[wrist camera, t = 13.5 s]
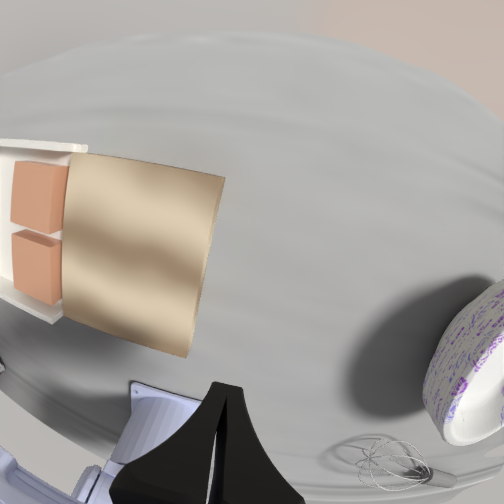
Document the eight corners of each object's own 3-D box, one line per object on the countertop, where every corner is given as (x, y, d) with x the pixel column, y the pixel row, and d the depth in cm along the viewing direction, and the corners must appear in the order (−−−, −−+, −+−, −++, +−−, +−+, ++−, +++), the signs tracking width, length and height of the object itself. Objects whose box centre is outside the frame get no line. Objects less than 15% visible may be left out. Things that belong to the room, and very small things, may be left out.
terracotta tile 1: (64, 296, 21) (51, 305, 19) (27, 280, 21) (14, 287, 19) (65, 241, 20) (50, 247, 18) (26, 228, 20) (11, 233, 18)
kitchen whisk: (439, 486, 31) (448, 509, 25) (338, 448, 26) (348, 491, 20) (465, 468, 29) (477, 490, 23) (382, 418, 25) (399, 461, 19)
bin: (75, 311, 22) (57, 326, 19) (-4, 275, 22) (-22, 284, 19) (88, 145, 18) (65, 143, 15) (1, 138, 18) (-20, 138, 15)
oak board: (191, 344, 22) (186, 358, 20) (75, 305, 22) (63, 315, 20) (225, 177, 19) (221, 177, 17) (86, 152, 18) (72, 151, 17)
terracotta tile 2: (63, 229, 20) (48, 234, 18) (25, 217, 19) (10, 221, 17) (70, 166, 18) (55, 166, 16) (30, 160, 18) (15, 160, 16)
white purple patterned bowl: (423, 276, 20) (481, 321, 12) (529, 260, 19) (579, 285, 12) (394, 412, 24) (419, 468, 16) (495, 378, 23) (527, 415, 15)
